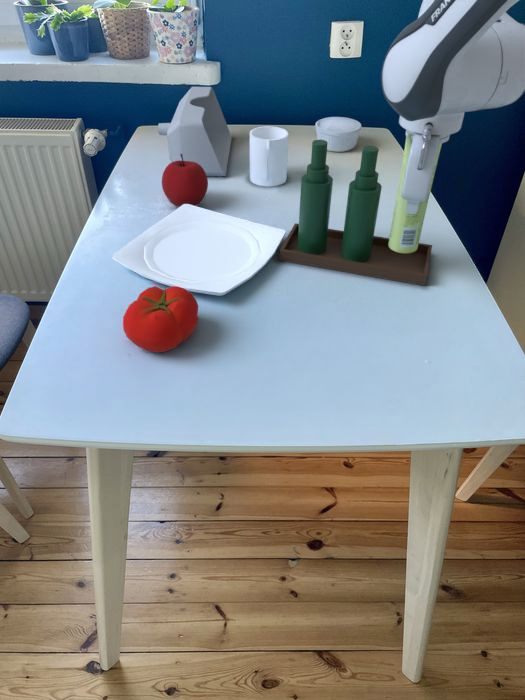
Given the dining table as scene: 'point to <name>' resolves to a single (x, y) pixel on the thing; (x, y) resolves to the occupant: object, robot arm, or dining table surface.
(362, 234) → the bottle
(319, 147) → the bottle
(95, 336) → the dining table surface
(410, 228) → the tube
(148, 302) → the tomato
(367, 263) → the tray
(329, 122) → the ramekin
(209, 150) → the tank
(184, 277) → the plate
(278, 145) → the cup
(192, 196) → the apple
